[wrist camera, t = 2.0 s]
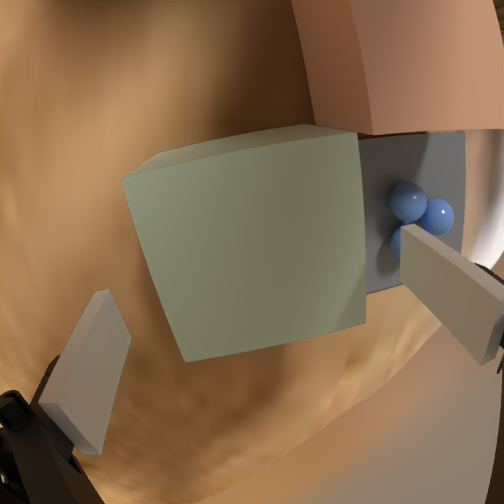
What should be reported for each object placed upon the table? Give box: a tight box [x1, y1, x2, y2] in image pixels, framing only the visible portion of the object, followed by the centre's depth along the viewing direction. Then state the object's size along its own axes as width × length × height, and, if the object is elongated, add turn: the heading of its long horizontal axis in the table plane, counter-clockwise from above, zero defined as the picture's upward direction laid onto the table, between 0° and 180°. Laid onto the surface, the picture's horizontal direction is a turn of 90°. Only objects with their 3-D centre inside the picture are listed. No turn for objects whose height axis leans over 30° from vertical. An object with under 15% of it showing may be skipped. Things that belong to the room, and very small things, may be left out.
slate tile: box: [358, 131, 466, 294], centre depth 24 cm, size 13×13×1 cm
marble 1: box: [389, 182, 427, 222], centre depth 22 cm, size 3×3×3 cm
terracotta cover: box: [291, 0, 504, 135], centre depth 15 cm, size 10×10×9 cm
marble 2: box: [390, 224, 410, 260], centre depth 23 cm, size 3×3×3 cm
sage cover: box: [121, 124, 366, 362], centre depth 19 cm, size 10×10×9 cm
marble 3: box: [420, 198, 454, 235], centre depth 23 cm, size 3×3×3 cm
